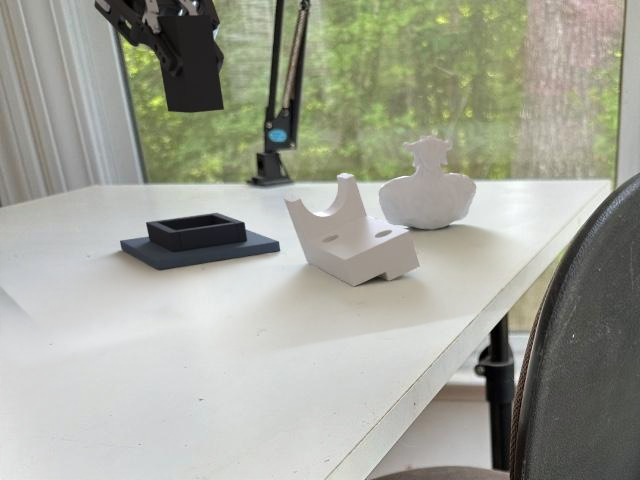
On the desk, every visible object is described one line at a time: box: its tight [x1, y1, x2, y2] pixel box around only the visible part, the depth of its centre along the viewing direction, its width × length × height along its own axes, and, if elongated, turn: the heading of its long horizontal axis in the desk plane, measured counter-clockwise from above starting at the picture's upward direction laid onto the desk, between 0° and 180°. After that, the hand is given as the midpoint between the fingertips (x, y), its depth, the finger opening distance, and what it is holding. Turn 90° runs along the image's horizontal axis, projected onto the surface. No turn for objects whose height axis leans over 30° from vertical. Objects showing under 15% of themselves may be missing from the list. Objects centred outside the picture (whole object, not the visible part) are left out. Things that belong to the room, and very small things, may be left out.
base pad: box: [119, 212, 281, 271], centre depth 102 cm, size 14×14×3 cm
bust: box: [378, 133, 478, 231], centre depth 106 cm, size 12×8×11 cm
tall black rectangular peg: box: [157, 14, 225, 114], centre depth 99 cm, size 4×4×9 cm
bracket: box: [283, 172, 421, 287], centre depth 90 cm, size 13×7×8 cm, turn 28°
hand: (198, 68), depth 98 cm, fingers closed on tall black rectangular peg, 4 cm apart
